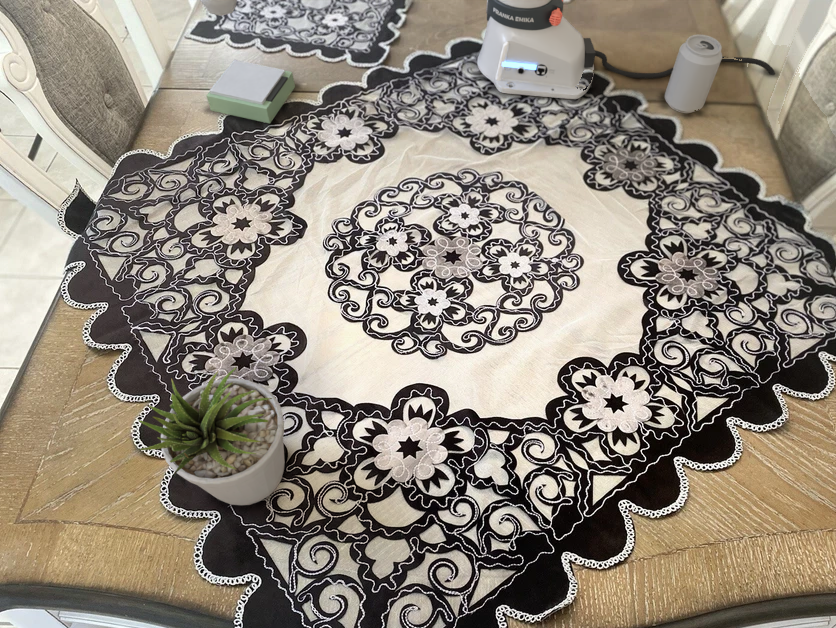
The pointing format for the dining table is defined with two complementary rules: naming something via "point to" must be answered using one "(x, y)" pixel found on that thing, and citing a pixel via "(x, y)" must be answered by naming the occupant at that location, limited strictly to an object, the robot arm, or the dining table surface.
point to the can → (693, 73)
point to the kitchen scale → (251, 91)
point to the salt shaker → (220, 6)
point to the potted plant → (225, 439)
